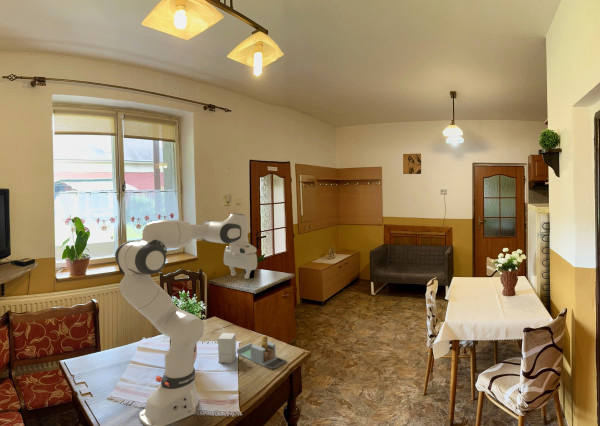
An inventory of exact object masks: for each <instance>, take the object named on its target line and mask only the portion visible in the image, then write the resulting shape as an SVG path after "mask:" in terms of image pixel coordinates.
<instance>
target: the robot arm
mask: <svg viewBox="0 0 600 426" xmlns="http://www.w3.org/2000/svg"><path fill="white" fill-rule="evenodd" d="M141 235H142V237H141V240H140V241H134V240H133V241H126V242H124V243H122V244H120V245H119V246H118V247H117V249H116V250H115V254H114V255H115V256H114V258H115V259H114V260H115V262H116V264H117V267H118V270H119V272H120V274H122V275H124V276H123V278H122V279H121V280H120V282H119V286H118V289H119V292H120V293H121V295H122V296H123V297H124V298H125V300H126V301H127V302H128V303H129V305H131V306H132V307H133V308H134V309H135V310H137V311H138V312H139V313H140V314H142V315H143V316H144V318H146V319H147V320H148V321H149V322H150V323H151V324H152V326H154V328H155V329H156V330H158V332H159V333H161V334H162V335H164V336H167V337H168V338H169V339H170V347H169V349H168V350H166V351H165V353H164V373H163V376H161V375H157V376H156V377H155V381H156V382H158V383H160V384H159V385H158V386H157V388H156V389H155V390H154V391H153V392H152V393H151V395H149V396H148V397H147V399H146V401H145V408H144V409H143V410H142V409H141V411H139V415H138V416H139V417H138V418H139V420H140V422H141V423H142V424H143V425H144V426H169V425H170V424H174V423H176V422H178V421H181V420H184V419H185V418H187V417H190V416H192V415H195V414H196V413H197V411H196V410H197V407H198V405H199V402H200V400H199V398H198V395H197V390H196V384H195V383H196V382H195V380H196V369H195V365H194V362H195V359H194V355H195V347H196V345H197V342H198V341H200V340H201V338H202V337H203V335H204V332H205V324H204V321H202V319H200V317H198V316H196V315H195V314H194V313H190V312H189V311H185V310H183V309H181V308H179V307H178V306H176V305H175V303H174V302H173V299H172V297H171V296H170V295H169V294H168V293H167V291H165V290H164V289H163V288H162V287H161V286H160V284H158V283H157V282H155V281H154V280H153V278H152V276H151V275H155V274H157V273H159V272H160V271H162V270H163V269H164V267H165V265H166V261H167V252H168V250H167V249H178V248H183V247H187V246H188V245H190V243H191V242H192V240H195V239H197V240H198V239H200V240H203V241H205V242H208V243H215V244H218V243H219V244H223V245H225V244H226V245H227V246H226V247H225V248H224V252H223V264H224V265H225V266H228V269H229V270H230V274H231V276H236V275H237V272H236V270H235V268H237V269H238V268H239V269H244V270H245V274H244V276H243V277H244V279H250V274H251V272H252V271H255V270H256V269H257V267H258V257H257V247H255V246H254V245H252V244H250V243H249V242H250V241H249V237H248V236H249V221H248V218H247V216H246V215H245V214H244V213H243V214H242V213H236V212H235V213H234V212H233V213H231V214H229V217H228V218H226V219H225V220H223V221H217V220H206V221H204V222H202V223H199V224H190V223H189V222H188V221H185V220H178V219H167V220H165V219H164V220H155V221H152V222H151V221H150V222H148V223H147V224H146V225H145V226H144V227H143V229H142V234H141ZM228 244H229V245H228Z"/></svg>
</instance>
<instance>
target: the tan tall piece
mask: <svg viewBox="0 0 600 426" xmlns="http://www.w3.org/2000/svg"><path fill="white" fill-rule="evenodd" d="M261 341H262V343H261V347H262V348H265V349H266V350H265V351H263V360H264V362H266V361H268V360H270V359H272V358H274V350H272V349H270V348H268V344H267V341H268V335H262V336H261Z"/></svg>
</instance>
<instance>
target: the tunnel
mask: <svg viewBox="0 0 600 426" xmlns="http://www.w3.org/2000/svg"><path fill="white" fill-rule="evenodd" d="M260 344H262V340H261V341H260ZM267 344H268V348H270V349H272V350H274V358H272V359H270V360H268V361H266V362H264V360H263V351H265V350H266V349H265V348H262V346H260V345H257V344H253V343H252V342H250V343H247V344H245V345H243V346H241V347H239V348H236V354H237V355H238V356H241V357H242V358H244V359H247V360H249V361H252V362H254V363H256V364H258V365H261V366H263V367H265V368H267V369H268V370H271V371H274V370H276V369H277V368H279V367H280V366H283V365H284V364H286V363H287V360H285V359H283V358H281V357H279V356H276V355H277V354H276V352H277V350H276V347H277V346H276V343H274V342H271V341H268V340H267Z"/></svg>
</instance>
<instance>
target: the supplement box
mask: <svg viewBox="0 0 600 426" xmlns="http://www.w3.org/2000/svg"><path fill="white" fill-rule="evenodd" d="M236 339H237V338H236V333H234V332H231V333H230V332H221V334H220V335H219V337H218V338H217V346H218V347H217V348H218V349H217V351H218V352H217V353H218V363H224V364H225V363H226V364H233V363H234V362H235V360H236V357H237V348H236V347H237V344H236Z"/></svg>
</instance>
